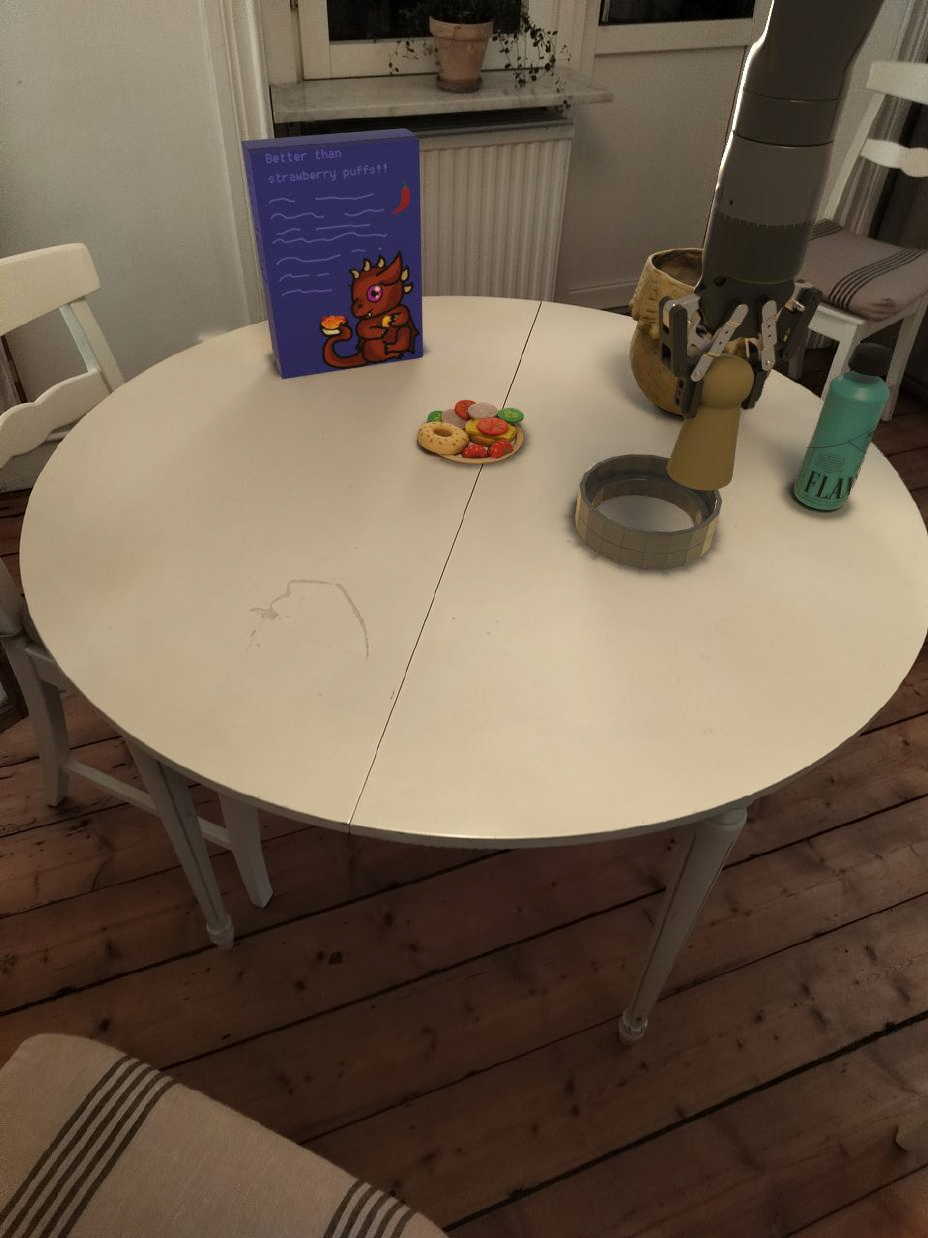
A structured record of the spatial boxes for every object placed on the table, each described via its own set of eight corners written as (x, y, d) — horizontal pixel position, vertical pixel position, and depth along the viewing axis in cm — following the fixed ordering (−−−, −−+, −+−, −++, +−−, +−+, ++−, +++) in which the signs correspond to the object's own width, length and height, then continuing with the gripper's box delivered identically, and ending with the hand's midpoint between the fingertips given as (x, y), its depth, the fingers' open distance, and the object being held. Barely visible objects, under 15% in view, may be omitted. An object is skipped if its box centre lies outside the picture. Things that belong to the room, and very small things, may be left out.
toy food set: (408, 459, 107) (407, 437, 104) (440, 410, 116) (440, 388, 114) (508, 477, 104) (509, 455, 102) (533, 426, 113) (535, 404, 111)
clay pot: (681, 358, 129) (709, 222, 115) (796, 415, 117) (843, 271, 103) (583, 397, 119) (601, 254, 105) (697, 463, 107) (734, 312, 93)
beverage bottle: (786, 514, 99) (842, 357, 86) (789, 485, 104) (842, 330, 90) (843, 526, 98) (909, 367, 84) (844, 495, 102) (906, 340, 89)
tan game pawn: (740, 465, 78) (771, 354, 70) (721, 497, 74) (752, 384, 67) (678, 447, 80) (702, 338, 72) (657, 478, 76) (680, 366, 69)
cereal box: (411, 340, 132) (405, 125, 111) (423, 357, 128) (419, 137, 107) (274, 361, 126) (240, 138, 105) (282, 378, 122) (249, 151, 101)
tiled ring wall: (732, 525, 98) (744, 486, 94) (671, 594, 89) (681, 553, 85) (617, 478, 104) (623, 439, 101) (548, 537, 95) (553, 497, 92)
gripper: (706, 228, 57) (661, 444, 68) (880, 210, 60) (809, 418, 72) (654, 195, 62) (621, 401, 74) (817, 179, 65) (761, 379, 77)
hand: (714, 409), depth 73 cm, fingers closed on tan game pawn, 5 cm apart
